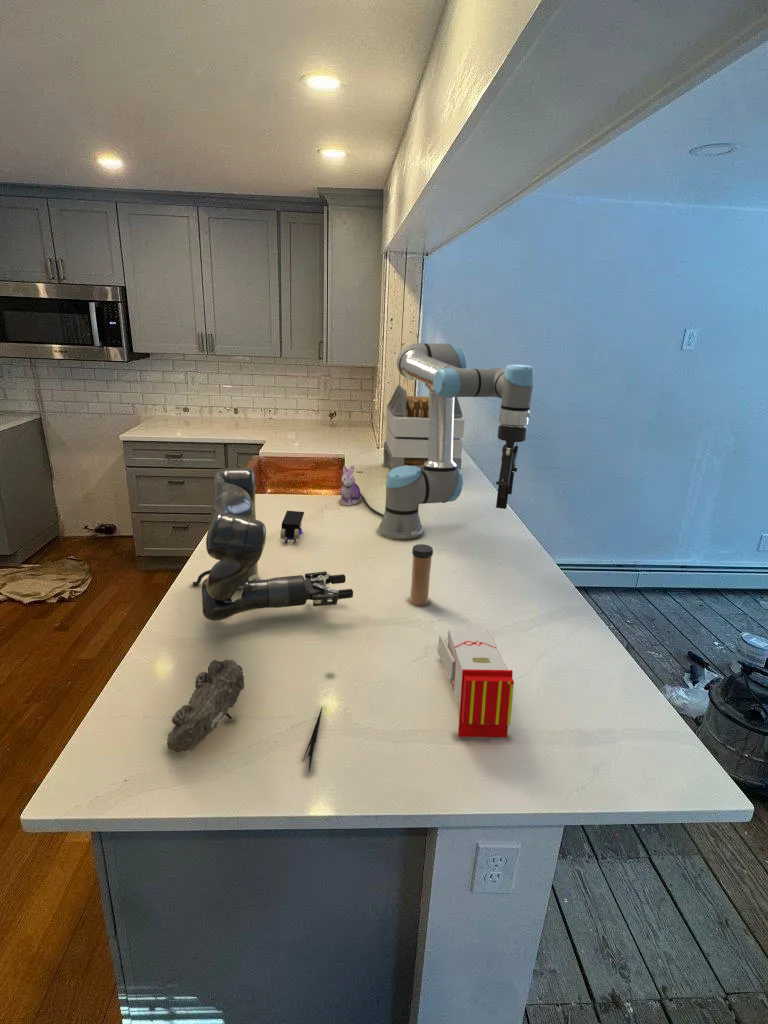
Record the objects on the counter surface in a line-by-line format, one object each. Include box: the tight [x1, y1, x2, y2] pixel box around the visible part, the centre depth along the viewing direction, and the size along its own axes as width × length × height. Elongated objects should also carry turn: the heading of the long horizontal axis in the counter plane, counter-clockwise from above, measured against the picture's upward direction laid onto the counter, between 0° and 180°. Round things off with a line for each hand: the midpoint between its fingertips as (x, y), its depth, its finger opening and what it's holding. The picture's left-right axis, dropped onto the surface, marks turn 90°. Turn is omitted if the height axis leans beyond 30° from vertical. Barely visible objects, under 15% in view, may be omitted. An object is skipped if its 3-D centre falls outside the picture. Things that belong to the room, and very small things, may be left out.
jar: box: [409, 554, 433, 607], centre depth 152 cm, size 5×5×15 cm
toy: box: [437, 628, 515, 738], centre depth 117 cm, size 12×13×30 cm
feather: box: [301, 673, 332, 771], centre depth 108 cm, size 2×28×2 cm
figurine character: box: [279, 510, 305, 545], centre depth 191 cm, size 7×8×15 cm
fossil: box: [166, 658, 245, 754], centre depth 106 cm, size 22×10×15 cm
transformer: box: [383, 384, 465, 472], centre depth 268 cm, size 34×33×41 cm
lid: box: [411, 543, 434, 558], centre depth 149 cm, size 5×5×2 cm
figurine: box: [339, 464, 362, 506], centre depth 227 cm, size 9×10×15 cm
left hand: (348, 585), depth 146 cm, fingers open, 8 cm apart
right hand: (504, 500), depth 158 cm, fingers open, 13 cm apart
